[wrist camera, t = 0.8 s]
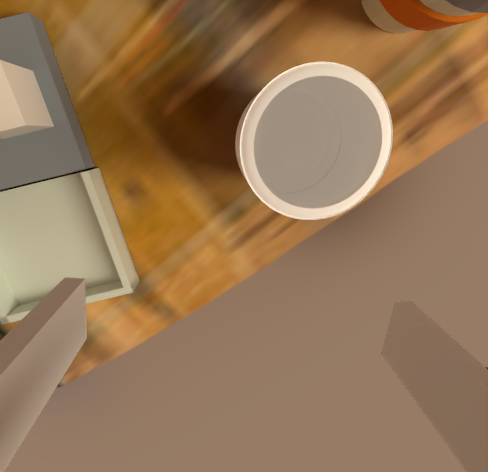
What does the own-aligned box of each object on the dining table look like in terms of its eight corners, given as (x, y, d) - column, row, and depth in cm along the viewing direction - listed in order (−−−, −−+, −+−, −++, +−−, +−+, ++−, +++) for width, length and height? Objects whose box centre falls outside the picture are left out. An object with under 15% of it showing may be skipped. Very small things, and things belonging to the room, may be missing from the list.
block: (-21, 83, 31) (-64, 74, 26) (32, 70, 31) (-1, 59, 26) (3, 138, 33) (-34, 139, 28) (54, 126, 33) (26, 125, 28)
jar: (254, 204, 39) (276, 244, 25) (215, 117, 36) (212, 105, 22) (340, 164, 38) (413, 181, 24) (307, 72, 35) (368, 29, 21)
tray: (-36, 200, 36) (-59, 206, 33) (99, 167, 36) (88, 170, 33) (18, 310, 40) (2, 324, 37) (139, 280, 40) (132, 292, 37)
